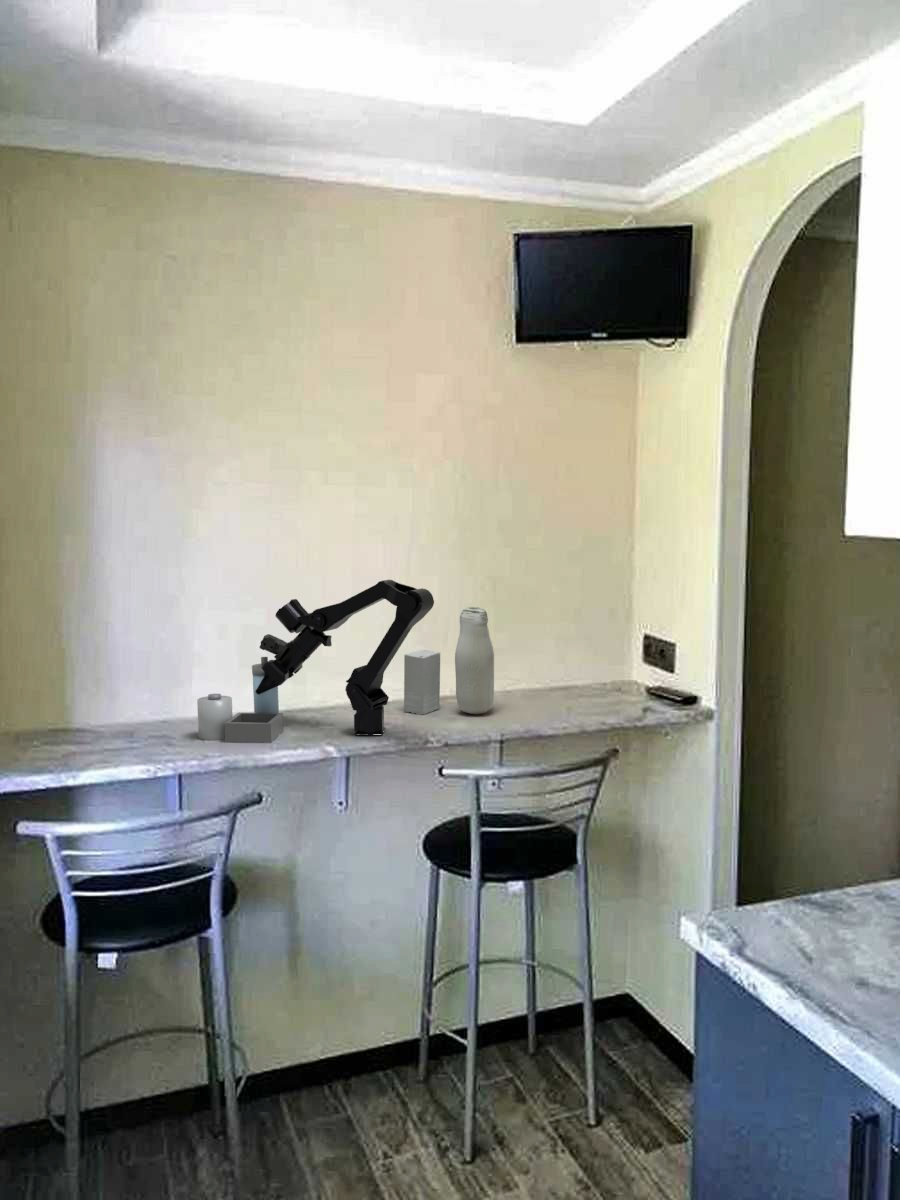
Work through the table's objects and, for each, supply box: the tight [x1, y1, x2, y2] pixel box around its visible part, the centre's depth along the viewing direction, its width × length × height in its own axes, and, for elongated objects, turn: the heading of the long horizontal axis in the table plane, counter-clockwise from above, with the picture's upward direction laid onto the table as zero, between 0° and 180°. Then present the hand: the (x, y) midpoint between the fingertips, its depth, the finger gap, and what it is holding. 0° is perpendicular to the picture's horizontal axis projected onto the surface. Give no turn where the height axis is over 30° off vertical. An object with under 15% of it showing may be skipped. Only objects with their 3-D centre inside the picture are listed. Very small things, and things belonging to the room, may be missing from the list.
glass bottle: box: [454, 606, 495, 715], centre depth 247 cm, size 10×10×28 cm
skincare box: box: [403, 649, 441, 715], centre depth 251 cm, size 8×7×16 cm
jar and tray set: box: [197, 693, 284, 743], centre depth 226 cm, size 19×11×10 cm, turn 85°
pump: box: [251, 656, 280, 713], centre depth 235 cm, size 6×6×15 cm
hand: (260, 690), depth 236 cm, fingers closed on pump, 6 cm apart
